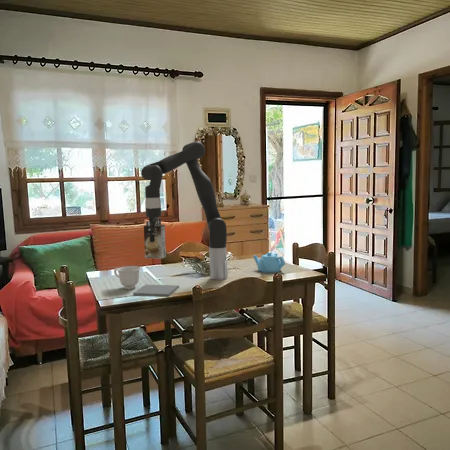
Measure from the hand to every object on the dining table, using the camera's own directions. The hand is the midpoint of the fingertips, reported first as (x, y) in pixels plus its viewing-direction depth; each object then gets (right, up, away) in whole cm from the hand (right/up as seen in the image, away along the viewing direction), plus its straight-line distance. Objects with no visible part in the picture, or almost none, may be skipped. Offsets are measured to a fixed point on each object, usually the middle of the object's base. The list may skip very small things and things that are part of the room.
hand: (154, 240), depth 210 cm
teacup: (-16, -25, +11) cm, 31 cm away
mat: (+1, -25, +3) cm, 25 cm away
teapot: (+60, -19, +42) cm, 76 cm away
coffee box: (0, -8, +1) cm, 8 cm away
